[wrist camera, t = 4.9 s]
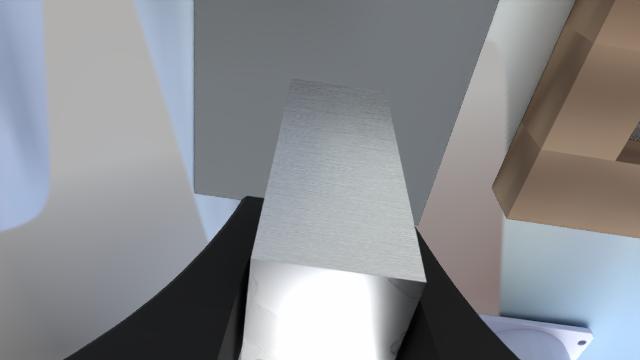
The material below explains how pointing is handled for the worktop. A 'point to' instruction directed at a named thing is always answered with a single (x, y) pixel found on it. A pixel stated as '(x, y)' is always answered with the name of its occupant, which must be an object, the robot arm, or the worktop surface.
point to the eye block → (581, 128)
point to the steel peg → (333, 234)
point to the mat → (328, 78)
